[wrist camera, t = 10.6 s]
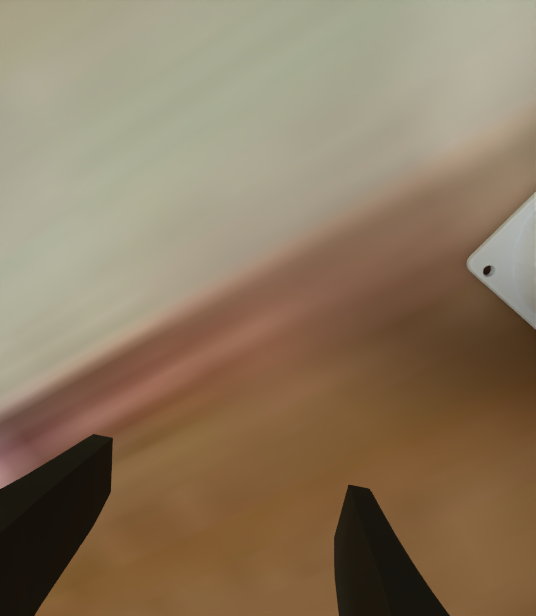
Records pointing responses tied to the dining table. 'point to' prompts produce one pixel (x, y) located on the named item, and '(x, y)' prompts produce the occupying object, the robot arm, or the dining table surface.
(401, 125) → the dining table surface
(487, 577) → the dining table surface
